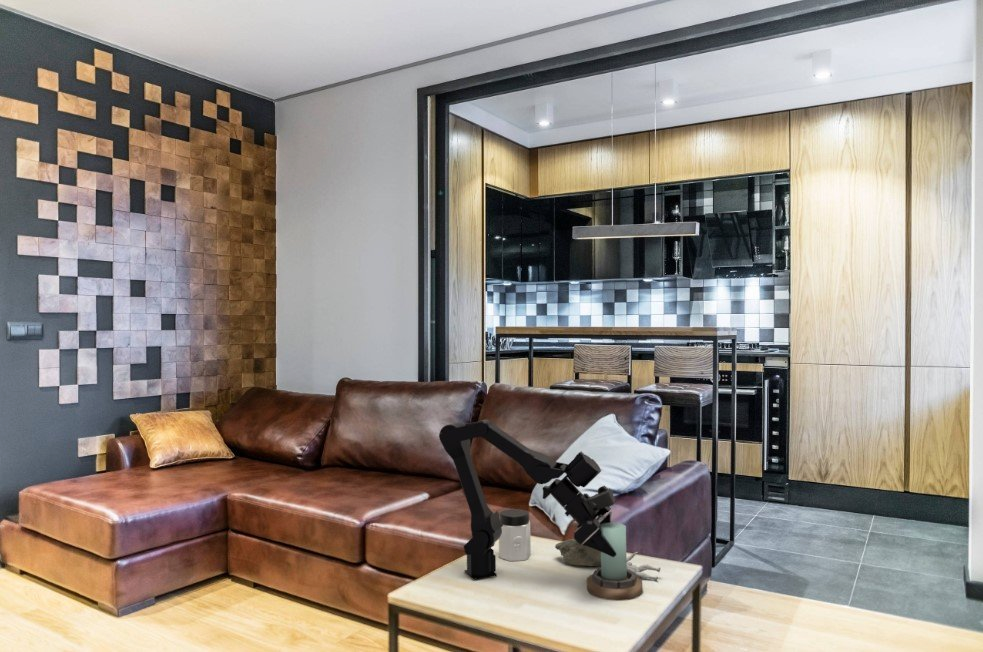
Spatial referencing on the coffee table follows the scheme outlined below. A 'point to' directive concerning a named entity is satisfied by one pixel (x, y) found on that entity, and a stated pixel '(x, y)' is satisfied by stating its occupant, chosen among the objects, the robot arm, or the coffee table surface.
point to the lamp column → (616, 565)
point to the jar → (515, 535)
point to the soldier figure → (641, 569)
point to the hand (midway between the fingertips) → (618, 549)
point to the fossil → (579, 553)
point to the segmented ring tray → (614, 586)
